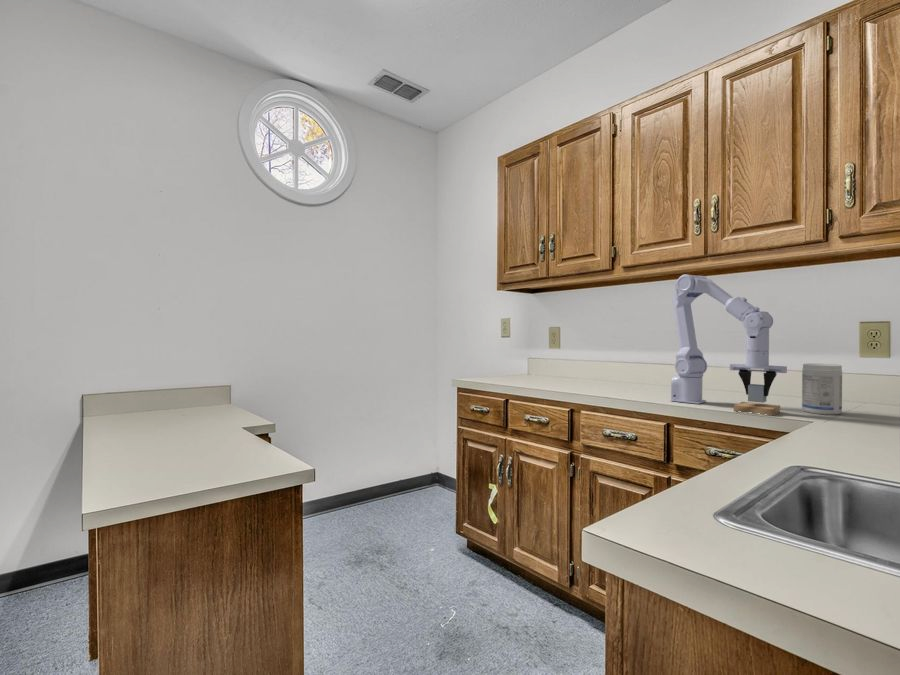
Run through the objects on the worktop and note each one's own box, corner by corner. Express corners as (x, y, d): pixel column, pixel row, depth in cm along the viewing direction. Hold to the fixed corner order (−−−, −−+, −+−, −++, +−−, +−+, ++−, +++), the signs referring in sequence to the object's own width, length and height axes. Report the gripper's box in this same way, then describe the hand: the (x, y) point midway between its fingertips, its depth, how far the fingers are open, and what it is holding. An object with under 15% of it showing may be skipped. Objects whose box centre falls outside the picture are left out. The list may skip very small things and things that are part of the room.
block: (747, 401, 142) (748, 385, 142) (751, 399, 145) (751, 383, 144) (763, 402, 139) (763, 386, 139) (766, 401, 142) (766, 385, 142)
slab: (733, 411, 142) (733, 405, 142) (742, 407, 149) (742, 401, 149) (772, 416, 135) (772, 409, 135) (780, 411, 142) (780, 405, 142)
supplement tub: (817, 409, 146) (818, 363, 146) (850, 414, 137) (851, 365, 137) (793, 410, 144) (794, 363, 144) (825, 416, 135) (826, 365, 135)
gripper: (789, 351, 139) (788, 396, 139) (734, 349, 149) (733, 391, 150) (784, 352, 134) (783, 398, 134) (727, 350, 144) (727, 393, 145)
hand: (757, 395), depth 142 cm, fingers closed on block, 4 cm apart
